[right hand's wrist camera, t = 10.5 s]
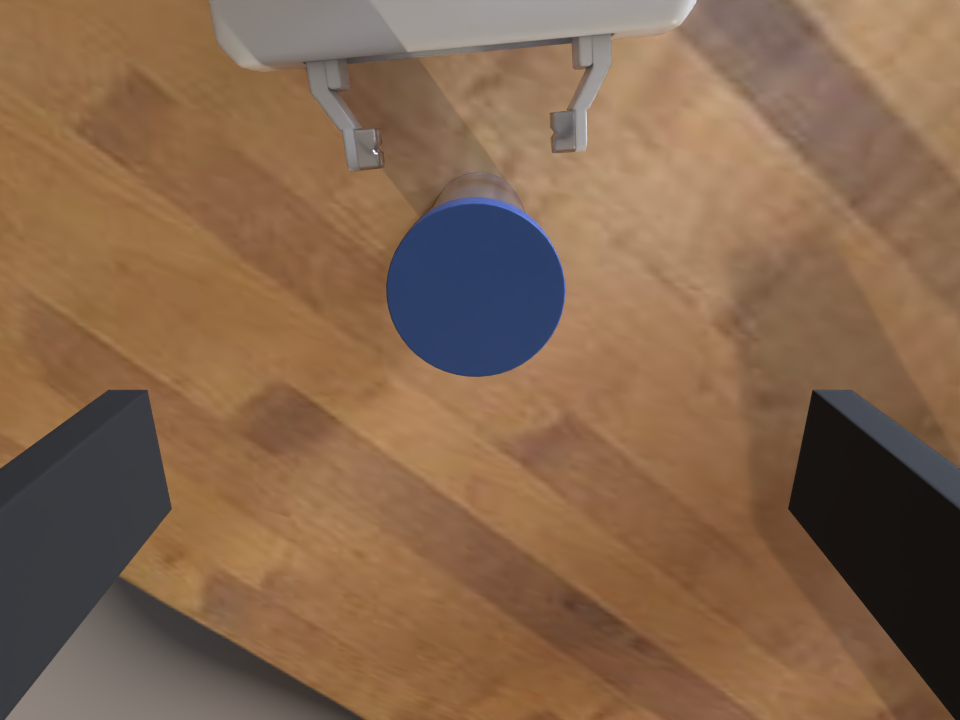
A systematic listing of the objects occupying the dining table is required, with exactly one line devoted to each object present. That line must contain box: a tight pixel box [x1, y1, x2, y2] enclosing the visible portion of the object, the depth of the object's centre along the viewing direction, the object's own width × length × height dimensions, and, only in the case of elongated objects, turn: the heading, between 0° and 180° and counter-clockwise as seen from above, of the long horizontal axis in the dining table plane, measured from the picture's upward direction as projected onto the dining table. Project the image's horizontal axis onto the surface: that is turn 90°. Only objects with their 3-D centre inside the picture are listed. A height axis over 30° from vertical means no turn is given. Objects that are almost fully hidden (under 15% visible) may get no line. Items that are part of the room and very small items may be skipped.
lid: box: [386, 197, 565, 377], centre depth 22 cm, size 6×6×2 cm
